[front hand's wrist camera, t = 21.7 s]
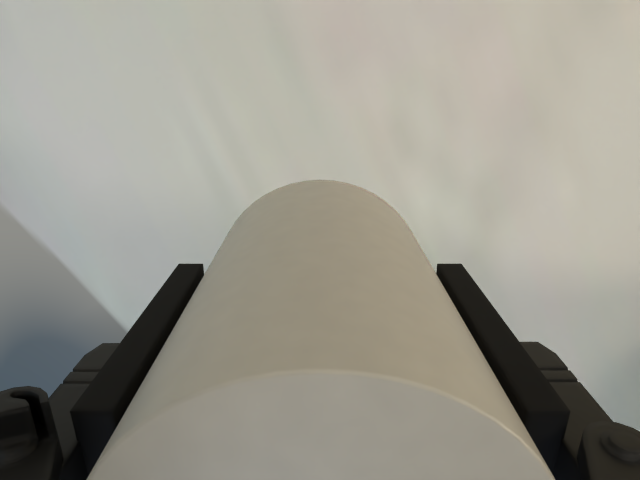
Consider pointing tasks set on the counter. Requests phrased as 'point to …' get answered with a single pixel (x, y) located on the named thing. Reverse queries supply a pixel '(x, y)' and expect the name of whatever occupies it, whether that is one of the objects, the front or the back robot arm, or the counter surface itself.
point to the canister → (320, 361)
